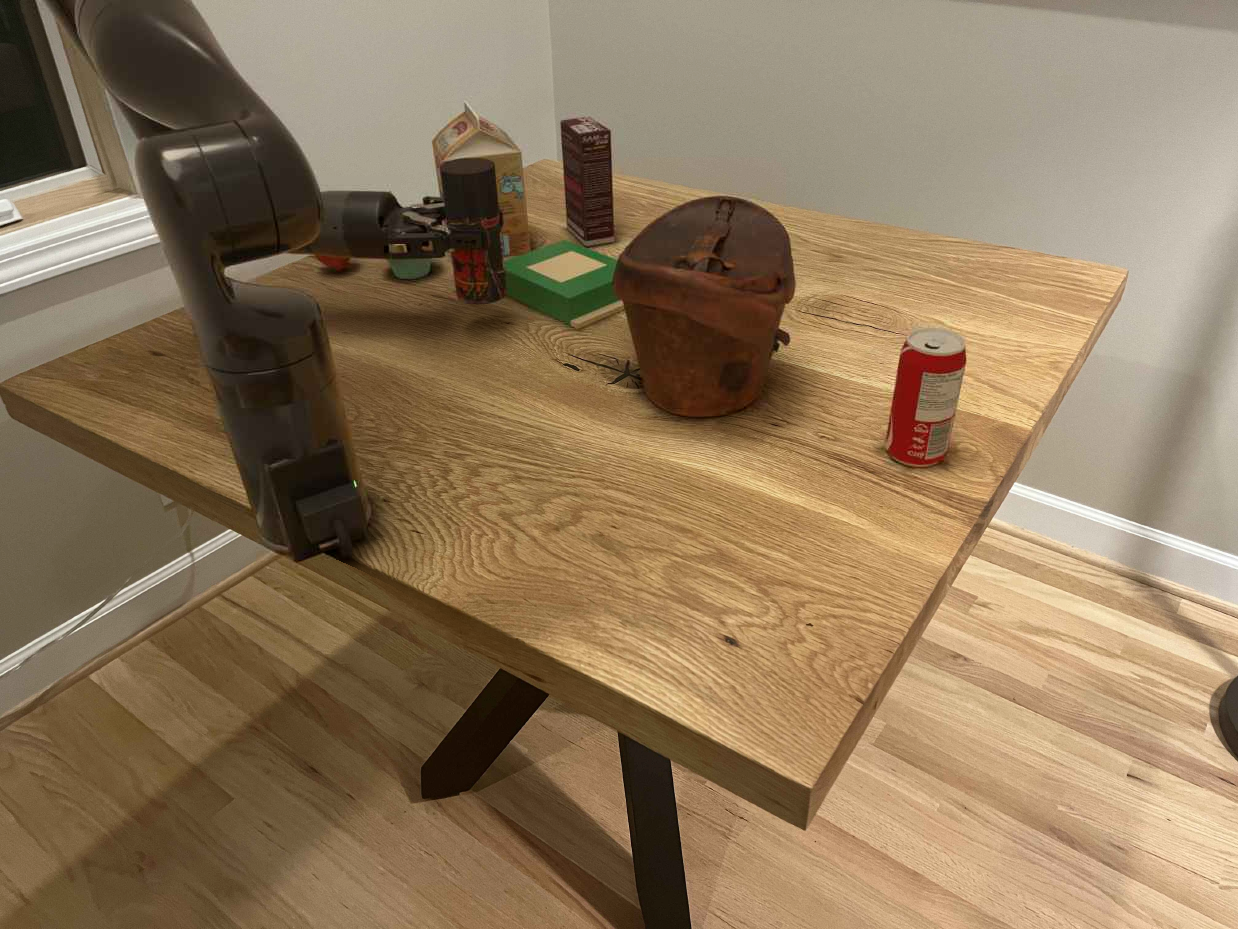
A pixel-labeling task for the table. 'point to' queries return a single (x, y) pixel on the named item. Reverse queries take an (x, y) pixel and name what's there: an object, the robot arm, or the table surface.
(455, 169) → the deodorant
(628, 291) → the case
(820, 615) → the table surface
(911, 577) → the table surface
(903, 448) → the soda can
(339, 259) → the onion
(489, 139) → the milk carton
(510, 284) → the green box
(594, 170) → the supplement box
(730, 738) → the table surface
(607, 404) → the table surface
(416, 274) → the cupcake
